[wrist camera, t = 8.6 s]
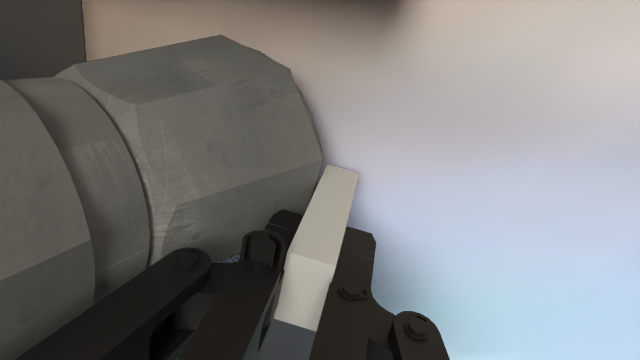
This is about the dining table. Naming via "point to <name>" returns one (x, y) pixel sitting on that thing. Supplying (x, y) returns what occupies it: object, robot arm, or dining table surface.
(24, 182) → the coffeepot
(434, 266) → the dining table surface
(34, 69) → the box
